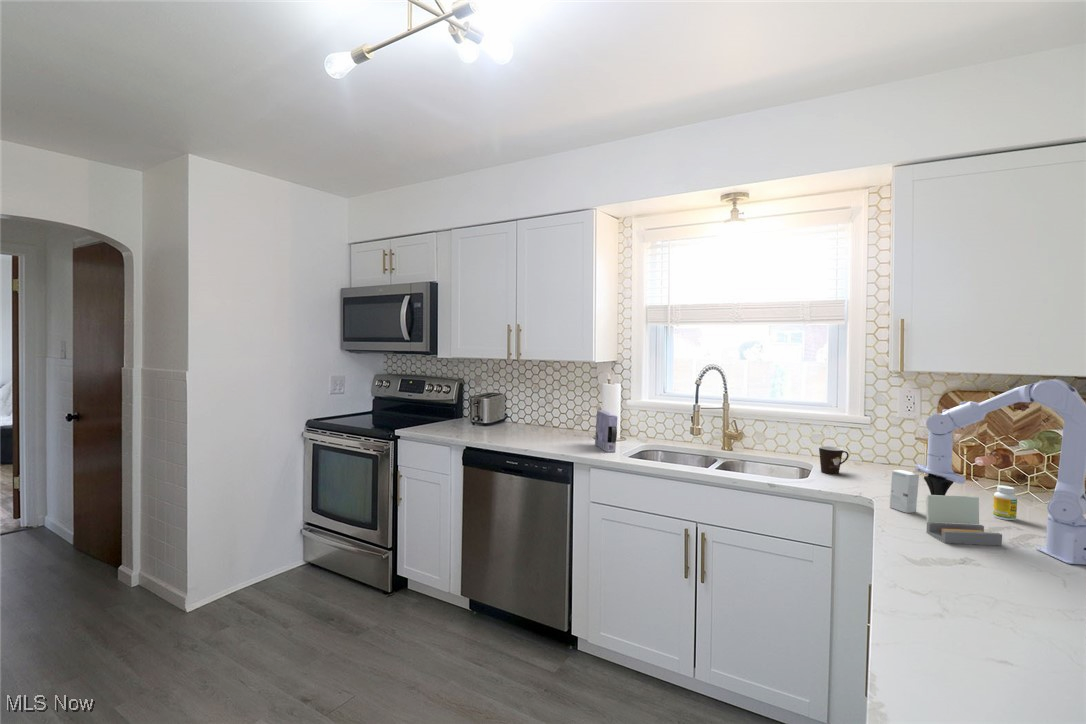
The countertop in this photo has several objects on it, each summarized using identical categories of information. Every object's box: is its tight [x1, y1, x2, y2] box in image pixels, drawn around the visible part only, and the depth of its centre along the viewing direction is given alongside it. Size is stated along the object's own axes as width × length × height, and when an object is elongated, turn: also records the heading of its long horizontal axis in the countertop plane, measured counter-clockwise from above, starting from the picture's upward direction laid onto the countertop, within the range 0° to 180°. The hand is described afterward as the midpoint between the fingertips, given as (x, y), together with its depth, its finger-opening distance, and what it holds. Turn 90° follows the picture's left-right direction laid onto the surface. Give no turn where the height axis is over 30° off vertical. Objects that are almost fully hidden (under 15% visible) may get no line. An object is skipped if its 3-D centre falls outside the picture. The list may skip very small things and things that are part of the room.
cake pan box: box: [594, 409, 618, 453], centre depth 253 cm, size 19×5×18 cm, turn 12°
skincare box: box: [889, 469, 920, 514], centre depth 166 cm, size 6×4×12 cm
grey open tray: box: [926, 521, 1003, 547], centre depth 141 cm, size 8×14×3 cm, turn 85°
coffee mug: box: [818, 445, 849, 475], centre depth 214 cm, size 12×9×10 cm
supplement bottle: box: [992, 484, 1018, 521], centre depth 160 cm, size 5×5×10 cm
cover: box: [925, 494, 980, 525], centre depth 146 cm, size 7×13×1 cm
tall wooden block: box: [941, 529, 983, 534], centre depth 141 cm, size 2×10×2 cm, turn 85°
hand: (937, 501), depth 152 cm, fingers closed
